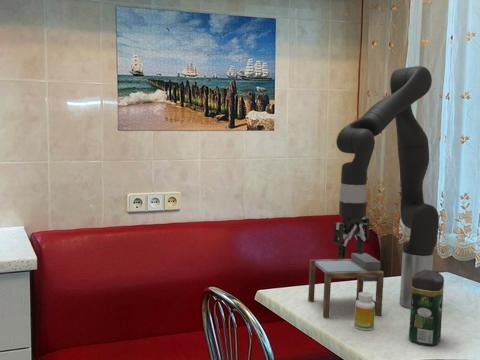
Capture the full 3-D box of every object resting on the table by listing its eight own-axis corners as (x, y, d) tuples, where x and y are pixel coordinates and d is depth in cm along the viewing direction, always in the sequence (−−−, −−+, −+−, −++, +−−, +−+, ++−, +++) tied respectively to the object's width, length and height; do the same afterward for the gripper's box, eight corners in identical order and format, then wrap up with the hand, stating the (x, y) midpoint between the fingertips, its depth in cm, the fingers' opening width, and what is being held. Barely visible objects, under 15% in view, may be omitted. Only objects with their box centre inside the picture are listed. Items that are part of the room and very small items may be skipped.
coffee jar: (412, 330, 151) (417, 265, 149) (442, 336, 147) (447, 270, 145) (405, 342, 143) (409, 274, 141) (436, 349, 139) (441, 279, 137)
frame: (360, 298, 178) (362, 258, 176) (381, 315, 162) (383, 272, 160) (308, 300, 174) (309, 259, 173) (324, 318, 159) (326, 273, 157)
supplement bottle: (374, 331, 149) (375, 297, 148) (354, 329, 150) (356, 296, 149) (373, 324, 155) (375, 292, 154) (354, 322, 156) (355, 290, 155)
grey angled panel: (364, 270, 175) (365, 252, 174) (380, 281, 163) (381, 262, 162) (314, 271, 172) (315, 253, 171) (326, 283, 160) (327, 263, 159)
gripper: (356, 196, 159) (353, 249, 160) (326, 200, 149) (324, 257, 150) (378, 199, 153) (375, 254, 155) (349, 203, 143) (347, 263, 145)
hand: (350, 256), depth 153 cm, fingers open, 8 cm apart
